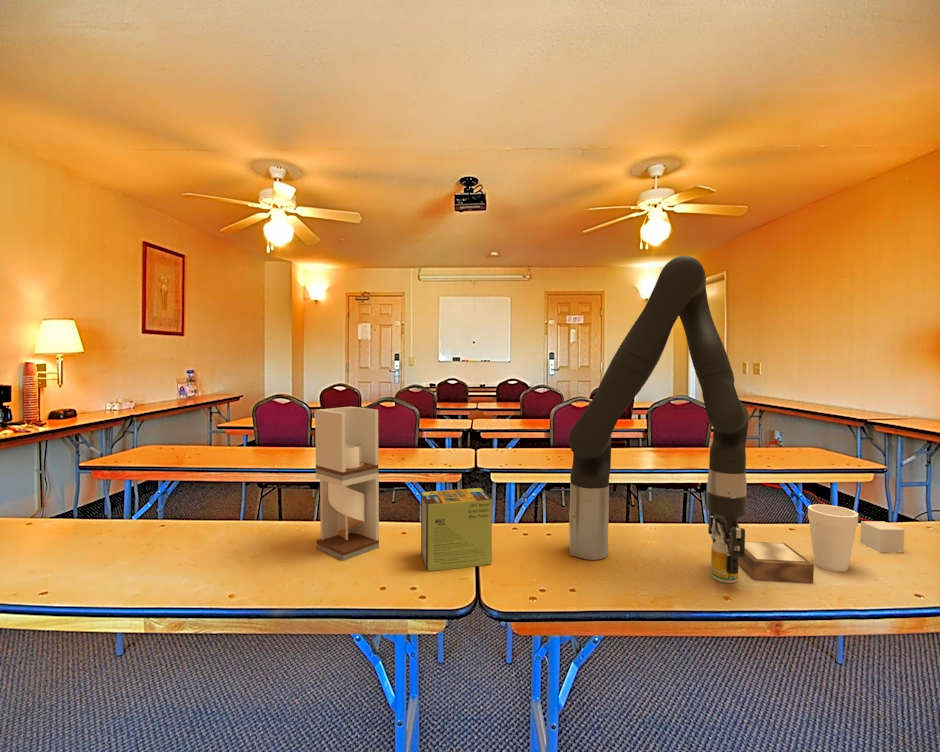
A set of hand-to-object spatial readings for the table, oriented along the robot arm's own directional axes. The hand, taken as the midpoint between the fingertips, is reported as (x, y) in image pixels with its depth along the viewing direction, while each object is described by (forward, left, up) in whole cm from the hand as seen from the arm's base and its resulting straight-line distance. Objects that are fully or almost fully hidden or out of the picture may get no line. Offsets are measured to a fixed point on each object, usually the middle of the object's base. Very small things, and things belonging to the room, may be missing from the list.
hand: (724, 564), depth 107 cm
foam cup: (+27, +10, -3) cm, 29 cm away
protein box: (-60, +2, -3) cm, 60 cm away
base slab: (+12, +6, -3) cm, 14 cm away
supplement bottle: (0, 0, -3) cm, 3 cm away
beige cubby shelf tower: (-88, +5, -3) cm, 88 cm away
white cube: (+46, +23, -3) cm, 52 cm away
